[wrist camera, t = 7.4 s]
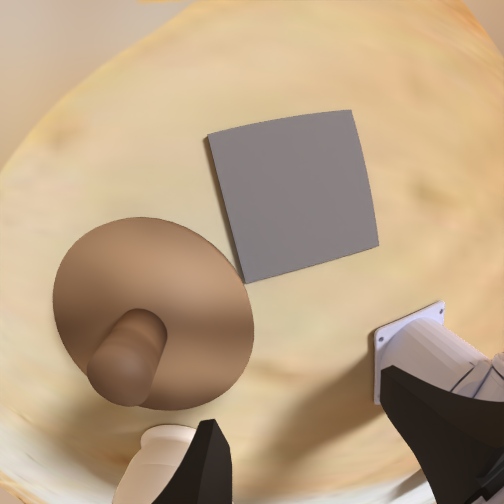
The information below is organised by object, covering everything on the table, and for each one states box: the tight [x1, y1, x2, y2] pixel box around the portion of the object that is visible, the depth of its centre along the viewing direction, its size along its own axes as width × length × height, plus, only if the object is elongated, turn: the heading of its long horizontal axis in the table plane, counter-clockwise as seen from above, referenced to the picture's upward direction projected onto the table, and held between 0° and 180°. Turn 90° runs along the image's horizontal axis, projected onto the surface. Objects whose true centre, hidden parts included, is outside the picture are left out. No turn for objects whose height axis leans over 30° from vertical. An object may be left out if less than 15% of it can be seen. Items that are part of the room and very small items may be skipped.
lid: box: [53, 217, 254, 410], centre depth 12 cm, size 12×12×6 cm
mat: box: [207, 110, 379, 283], centre depth 18 cm, size 10×10×1 cm
